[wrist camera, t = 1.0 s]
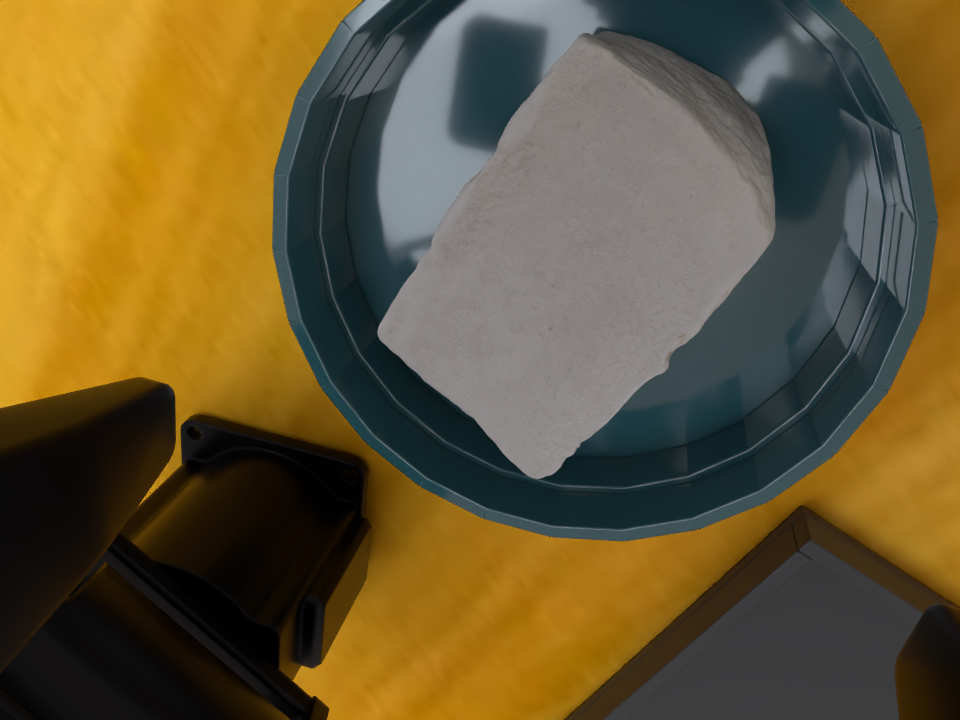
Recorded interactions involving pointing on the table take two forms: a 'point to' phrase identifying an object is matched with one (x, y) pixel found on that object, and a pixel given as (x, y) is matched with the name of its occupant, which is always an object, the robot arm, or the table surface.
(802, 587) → the tray
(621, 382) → the grey stone block
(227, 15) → the table surface
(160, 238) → the table surface
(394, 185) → the bowl
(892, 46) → the table surface
